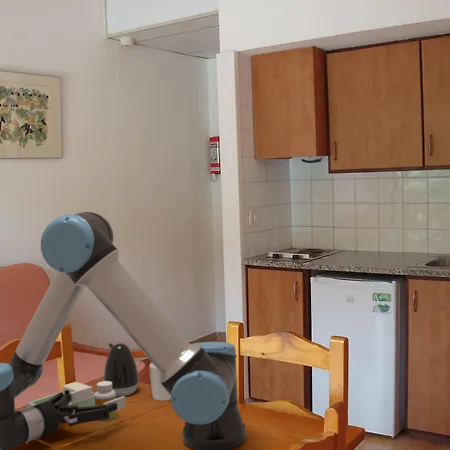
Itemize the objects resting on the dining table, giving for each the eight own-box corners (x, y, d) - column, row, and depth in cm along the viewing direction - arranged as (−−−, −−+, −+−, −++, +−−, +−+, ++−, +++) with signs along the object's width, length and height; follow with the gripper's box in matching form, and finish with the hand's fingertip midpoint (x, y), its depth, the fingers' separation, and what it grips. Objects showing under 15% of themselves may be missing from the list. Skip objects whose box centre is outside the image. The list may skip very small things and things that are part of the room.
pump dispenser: (126, 386, 192) (124, 337, 191) (146, 394, 184) (144, 342, 183) (97, 395, 185) (94, 343, 184) (116, 403, 177) (114, 350, 176)
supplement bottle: (112, 424, 162) (110, 387, 161) (92, 423, 163) (90, 386, 163) (119, 416, 167) (118, 380, 167) (100, 415, 169) (98, 379, 168)
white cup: (145, 399, 179) (143, 365, 179) (166, 392, 185) (164, 358, 184) (163, 405, 174) (162, 370, 173) (184, 398, 180) (183, 363, 179)
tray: (100, 406, 175) (99, 394, 175) (50, 424, 163) (49, 411, 163) (76, 398, 182) (76, 386, 182) (27, 415, 170) (26, 402, 170)
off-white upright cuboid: (91, 404, 175) (90, 386, 175) (77, 408, 172) (76, 390, 171) (76, 398, 180) (75, 381, 179) (62, 403, 176) (61, 385, 176)
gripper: (9, 424, 159) (79, 400, 174) (68, 450, 142) (139, 420, 158) (7, 395, 158) (78, 374, 174) (66, 417, 142) (138, 391, 158)
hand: (107, 396), depth 166 cm, fingers open, 13 cm apart
